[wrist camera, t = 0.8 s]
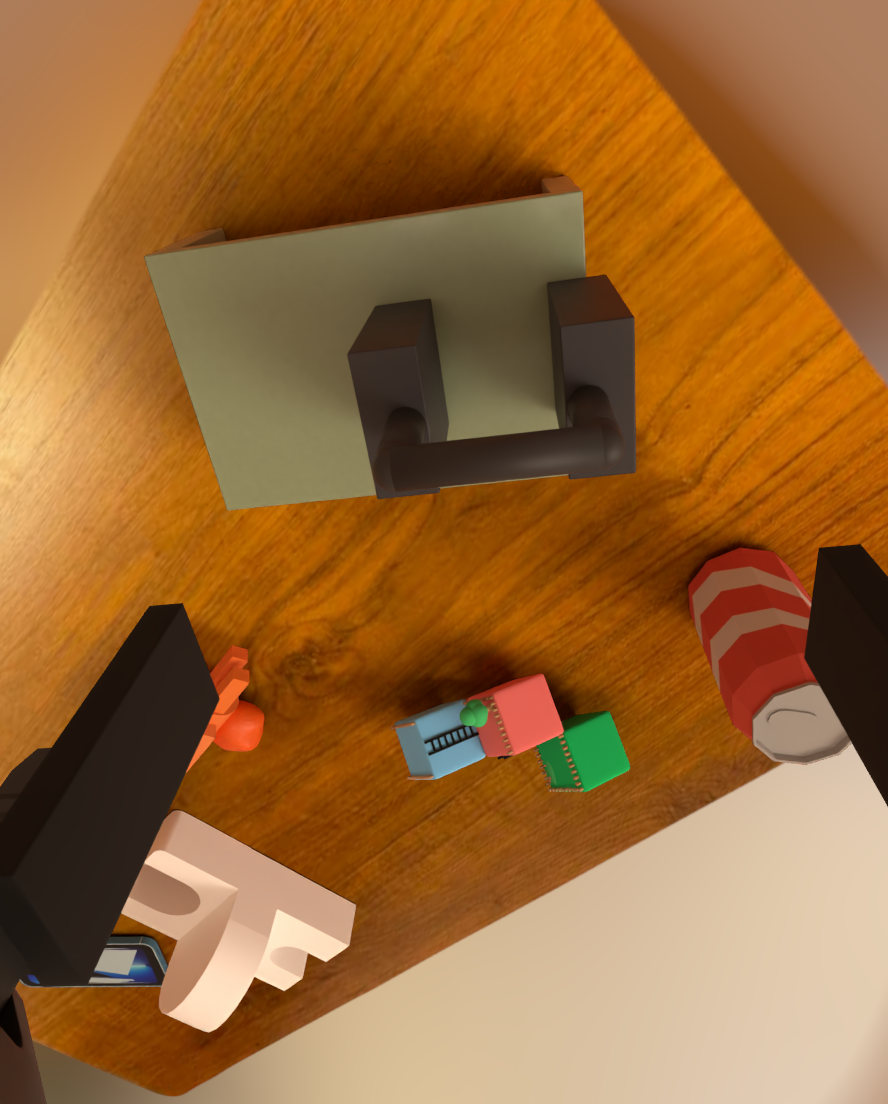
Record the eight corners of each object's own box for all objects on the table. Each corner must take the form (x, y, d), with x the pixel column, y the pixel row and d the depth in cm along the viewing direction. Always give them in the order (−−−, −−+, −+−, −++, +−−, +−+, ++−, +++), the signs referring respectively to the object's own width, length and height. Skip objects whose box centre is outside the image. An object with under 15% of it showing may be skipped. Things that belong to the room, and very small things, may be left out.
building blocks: (528, 669, 56) (388, 724, 50) (592, 652, 49) (436, 714, 43) (565, 771, 55) (426, 839, 49) (636, 769, 48) (483, 848, 42)
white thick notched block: (356, 904, 65) (332, 1041, 55) (293, 949, 69) (262, 1084, 59) (176, 807, 59) (116, 941, 50) (120, 863, 63) (55, 996, 54)
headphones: (374, 305, 31) (320, 397, 21) (606, 274, 30) (660, 356, 20) (397, 430, 34) (359, 561, 24) (610, 405, 33) (659, 533, 23)
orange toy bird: (200, 684, 44) (118, 788, 50) (308, 712, 48) (222, 806, 54) (202, 622, 48) (126, 726, 53) (303, 653, 52) (223, 747, 57)
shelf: (200, 231, 37) (142, 256, 31) (567, 175, 34) (582, 190, 28) (264, 454, 43) (226, 511, 37) (579, 418, 40) (594, 473, 34)
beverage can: (699, 537, 44) (762, 669, 34) (806, 550, 44) (901, 686, 34) (672, 619, 47) (722, 762, 37) (772, 631, 47) (849, 778, 37)
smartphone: (172, 987, 72) (24, 987, 73) (175, 977, 73) (29, 977, 74) (151, 942, 68) (-5, 944, 69) (155, 932, 69) (0, 934, 70)
